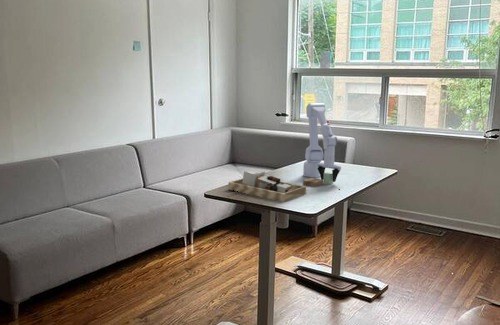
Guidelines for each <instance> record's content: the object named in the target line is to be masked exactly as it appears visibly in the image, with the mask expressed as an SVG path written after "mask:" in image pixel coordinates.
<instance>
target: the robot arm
mask: <svg viewBox="0 0 500 325" xmlns="http://www.w3.org/2000/svg"><path fill="white" fill-rule="evenodd" d="M305 108H306V109H305V110H306V118H308V132H309V136H308V137H309V146H308V147H306V149H305V155H304V159H305V161H304V162H303V172H302V173H303V174H302V176H303V177H307V178H315V179H318V178H319V177H320V179H321V180H323V178H324V173H326V172H325V171H326V169H332V170H331V171H332V172H331V173H333V183H335V182H336V181H337V177H338V175H339V173H340V172H341V170H342V166H341V165H338V164H335V156H336V155H335V154H336V153H335V152H336V149H335V148H336V146H337V145H338V138H337V135H335V134H334V133H333V131H332V128H331V125H330V124H328V123H327V118H326V105H325V103H324V102H317V103H315V102H314V103H311V102H309V103H308V104H307V105H306V107H305ZM318 122H319V124H320V133H321V135H322V137H323V139H322V144H323V148H322V147H321V146H320V145H319V132H318V131H319V130H318V129H319V128H318ZM323 150H324V152H323ZM322 161H323V162H322Z"/></svg>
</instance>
